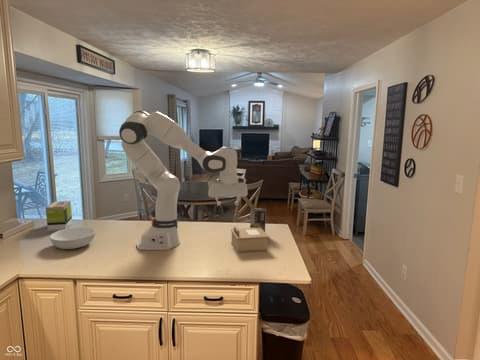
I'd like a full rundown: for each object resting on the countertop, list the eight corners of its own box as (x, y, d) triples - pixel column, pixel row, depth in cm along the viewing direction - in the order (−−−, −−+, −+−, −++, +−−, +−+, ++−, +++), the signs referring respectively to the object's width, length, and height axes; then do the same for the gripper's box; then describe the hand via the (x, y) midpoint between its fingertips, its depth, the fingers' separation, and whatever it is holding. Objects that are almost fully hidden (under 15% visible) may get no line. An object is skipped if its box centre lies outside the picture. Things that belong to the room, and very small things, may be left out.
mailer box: (237, 253, 160) (237, 239, 159) (231, 243, 174) (231, 231, 172) (266, 251, 164) (267, 238, 163) (259, 241, 177) (259, 229, 176)
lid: (236, 239, 158) (237, 233, 158) (230, 230, 173) (230, 224, 172) (268, 237, 162) (269, 232, 162) (260, 228, 177) (260, 223, 176)
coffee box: (265, 234, 190) (266, 208, 187) (264, 237, 184) (266, 211, 181) (250, 233, 191) (251, 207, 188) (249, 236, 185) (250, 210, 182)
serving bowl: (75, 236, 177) (74, 225, 176) (104, 242, 170) (104, 229, 169) (40, 249, 157) (39, 236, 156) (72, 256, 151) (72, 242, 150)
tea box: (55, 223, 198) (53, 200, 196) (72, 223, 201) (71, 200, 198) (47, 231, 184) (45, 206, 182) (66, 230, 187) (64, 206, 184)
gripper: (208, 180, 154) (208, 207, 157) (248, 179, 159) (248, 205, 161) (207, 178, 160) (207, 204, 163) (245, 177, 165) (245, 203, 167)
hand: (227, 205), depth 162 cm, fingers open, 8 cm apart
